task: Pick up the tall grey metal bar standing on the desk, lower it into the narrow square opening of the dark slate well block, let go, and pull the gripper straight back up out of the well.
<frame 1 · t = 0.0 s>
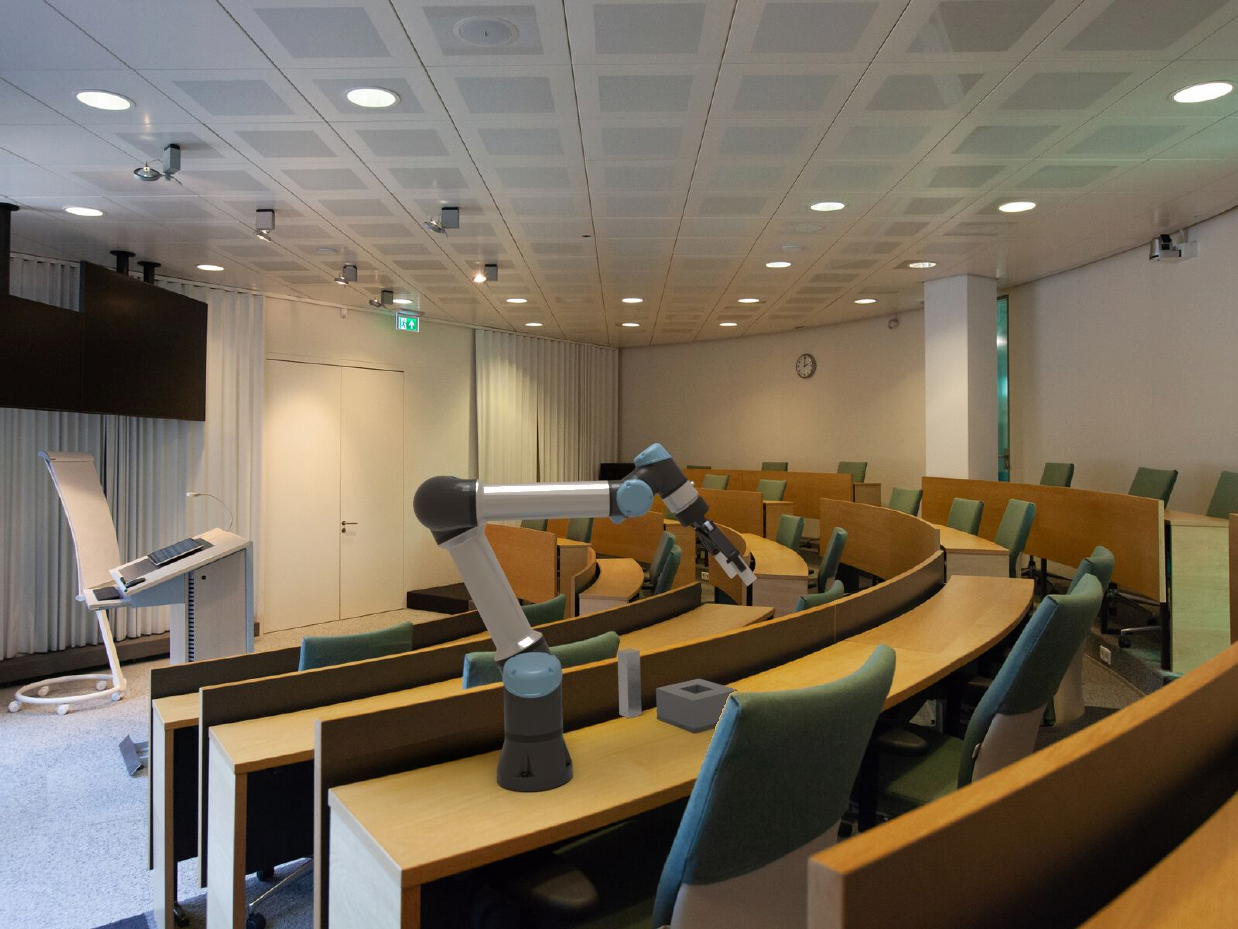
hand: (743, 578, 168), 36 cm above the table, tool tilted 35°, fingers open, 13 cm apart
slate well: (697, 720, 181), on the table
grey metal bar: (630, 715, 187), on the table
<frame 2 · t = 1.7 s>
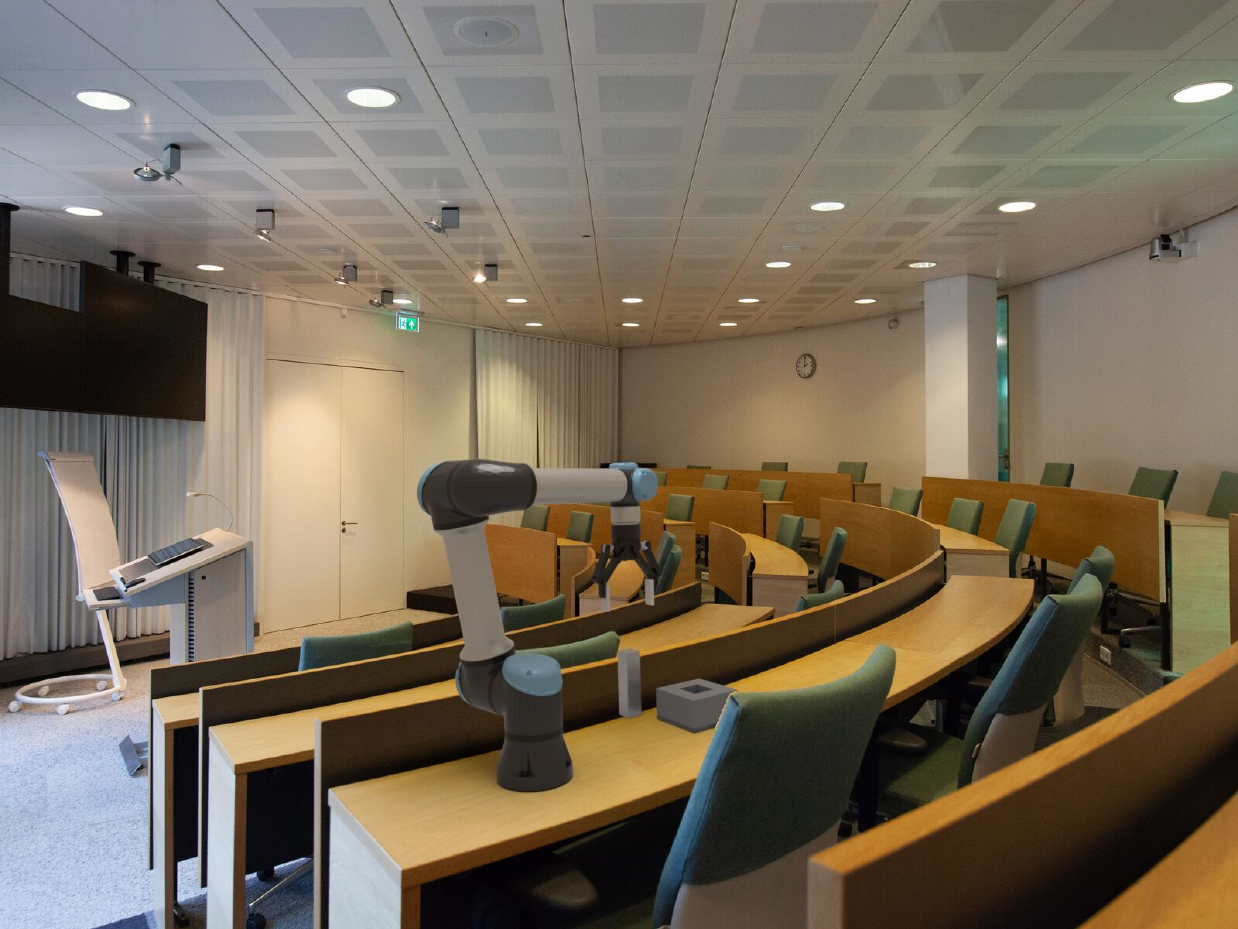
hand: (628, 608, 187), 27 cm above the table, tool pointing down, fingers open, 13 cm apart
nothing on the table moved.
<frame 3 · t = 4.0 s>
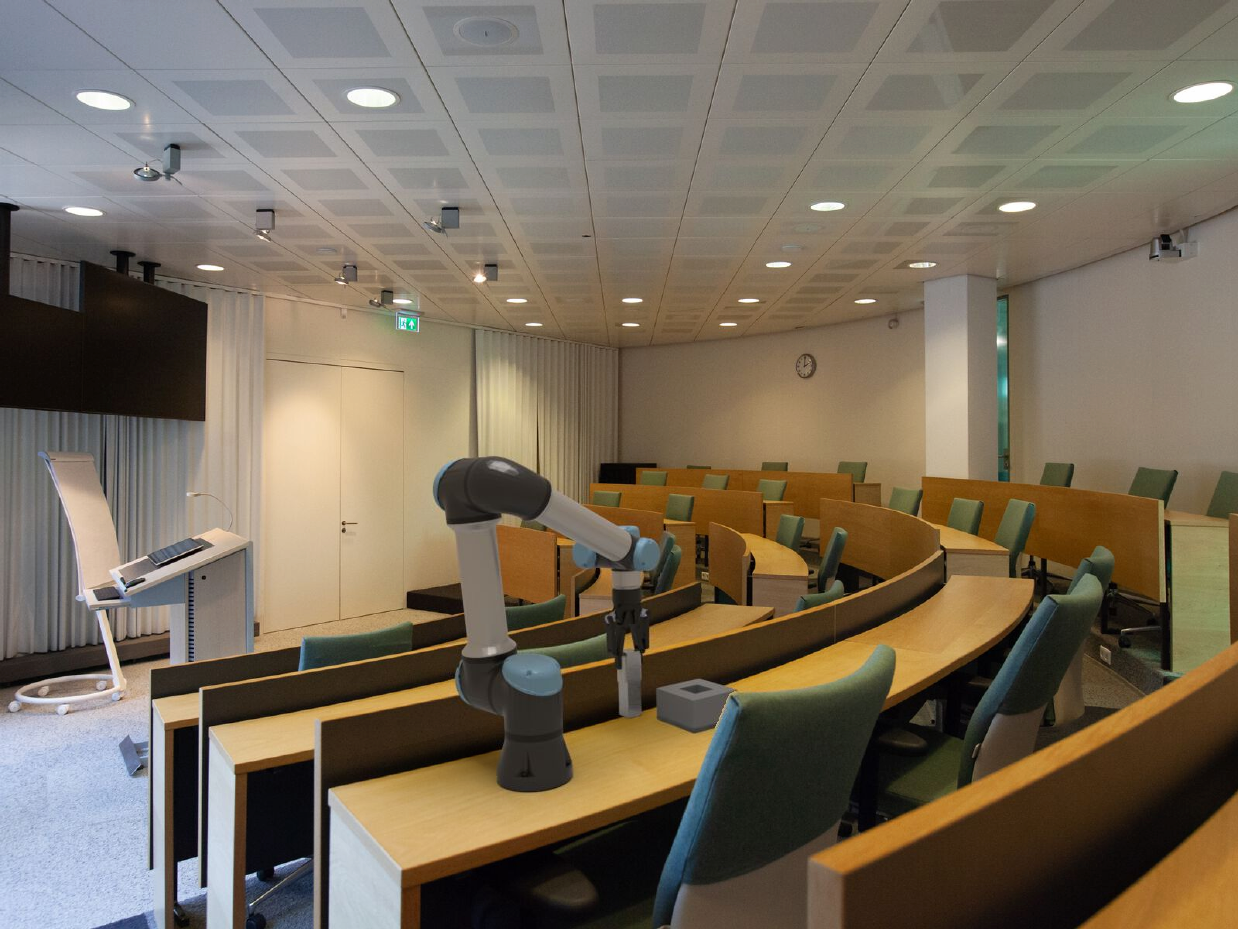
hand: (629, 680, 187), 9 cm above the table, tool pointing down, fingers closed on grey metal bar, 4 cm apart
grey metal bar: (630, 714, 187), on the table, touching gripper
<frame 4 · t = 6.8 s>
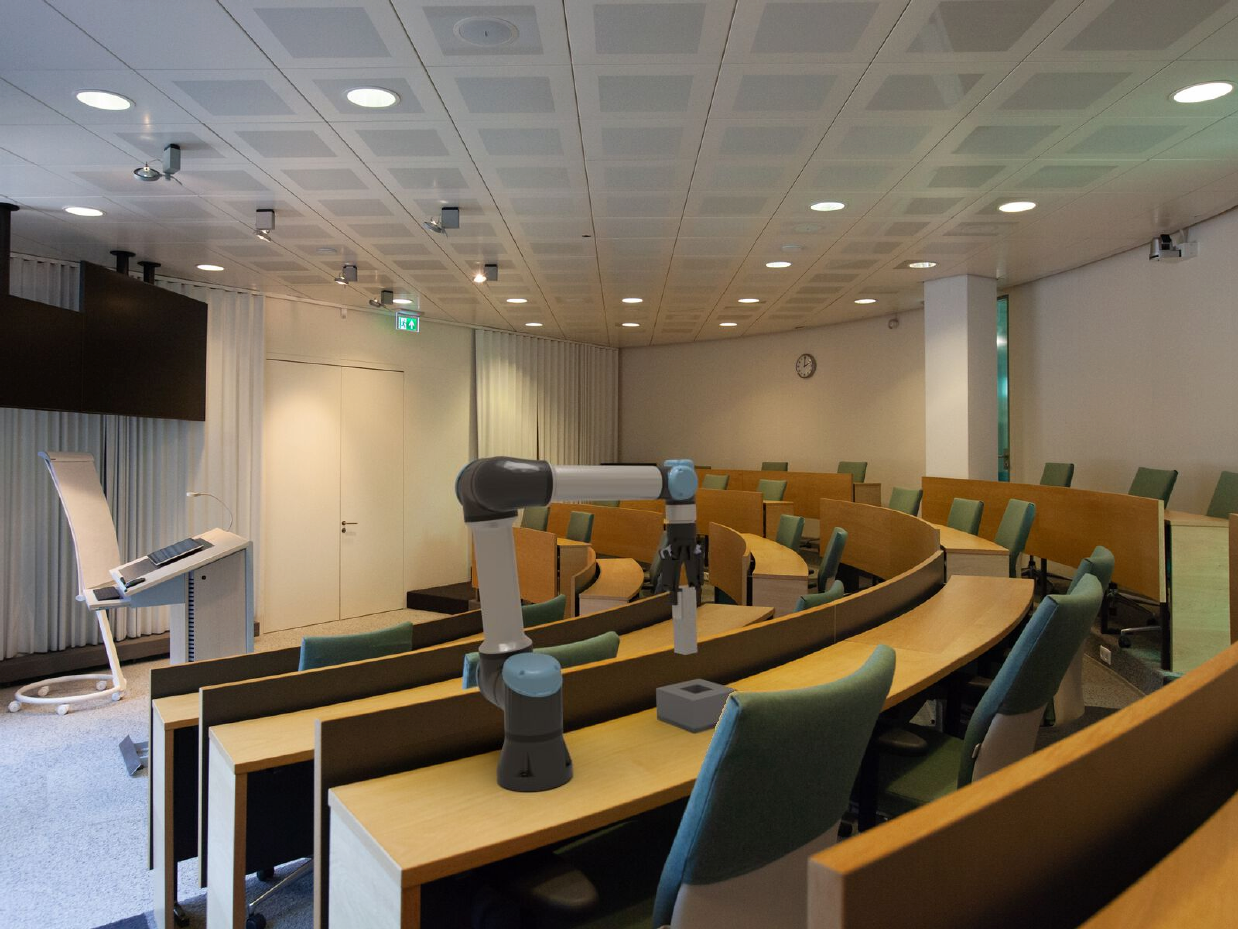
hand: (684, 617, 183), 25 cm above the table, tool pointing down, fingers closed on grey metal bar, 4 cm apart
grey metal bar: (685, 652, 183), point 16 cm above the table, touching gripper
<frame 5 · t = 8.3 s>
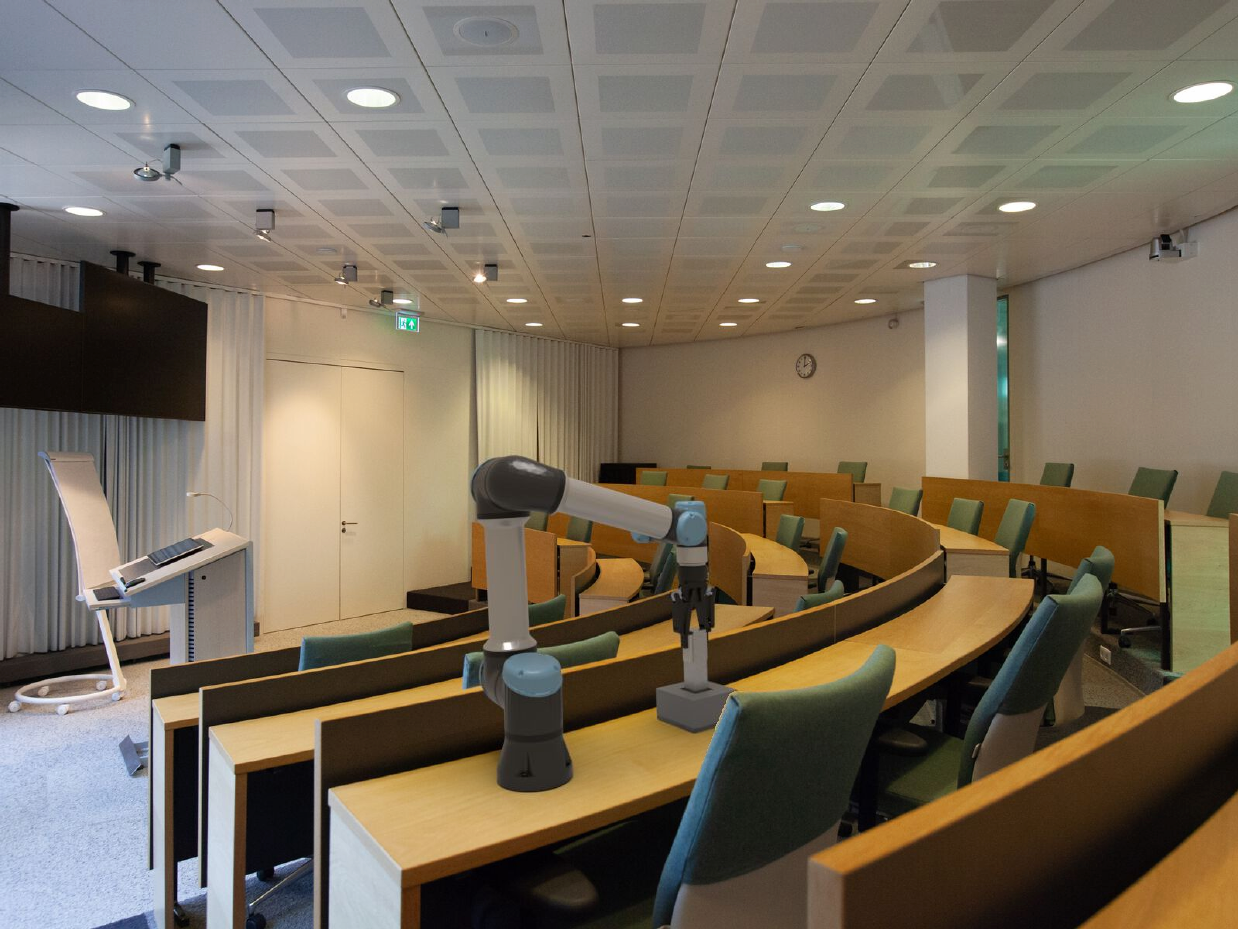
hand: (695, 659, 181), 15 cm above the table, tool pointing down, fingers closed on grey metal bar, 4 cm apart
grey metal bar: (696, 695, 181), point 6 cm above the table, touching gripper
when the fingers open (11 cm above the table, at t = 9.4 s): grey metal bar stays where it is, resting on slate well.
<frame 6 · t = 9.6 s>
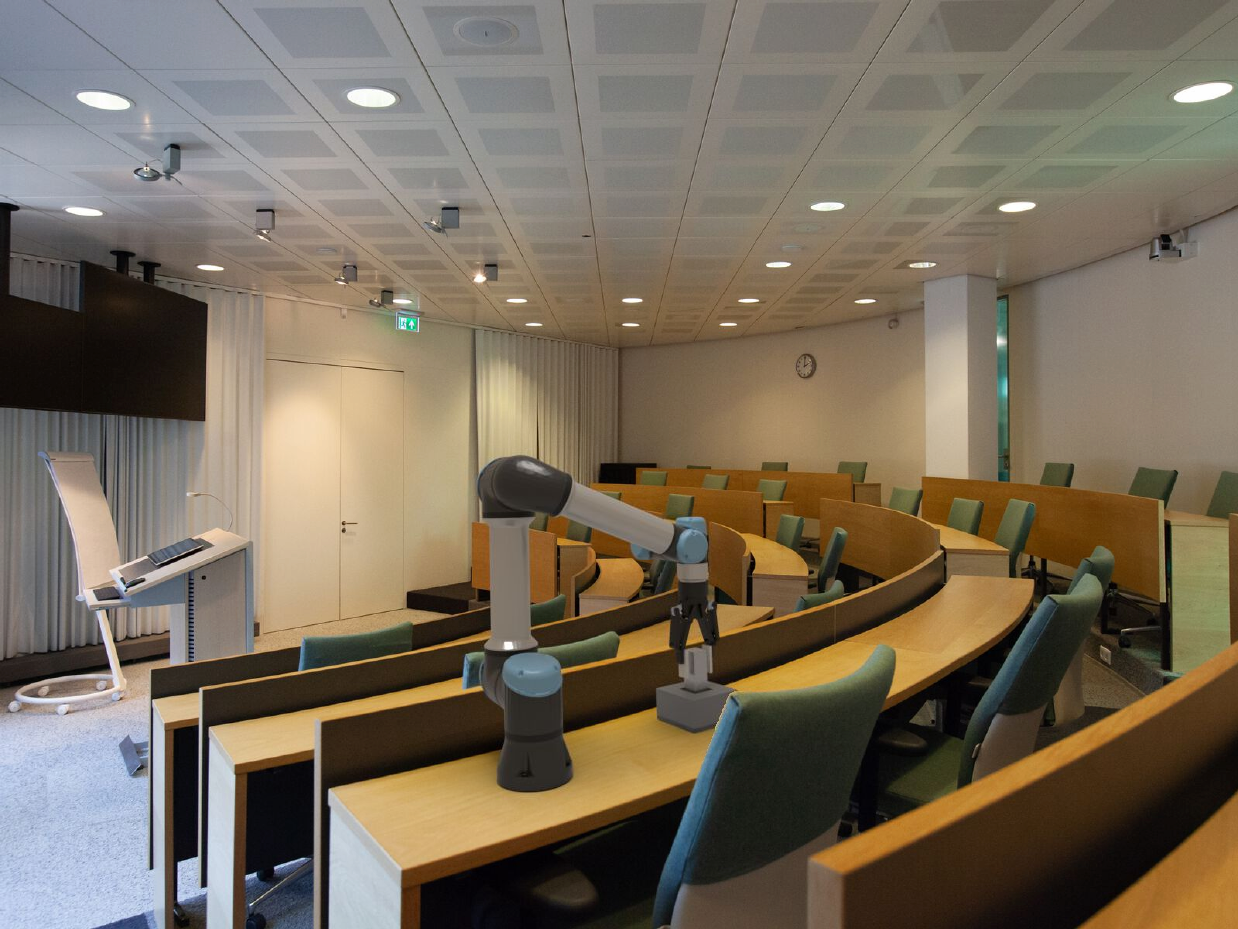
hand: (695, 674, 181), 11 cm above the table, tool pointing down, fingers open, 7 cm apart
grey metal bar: (696, 716, 181), point 1 cm above the table, touching slate well
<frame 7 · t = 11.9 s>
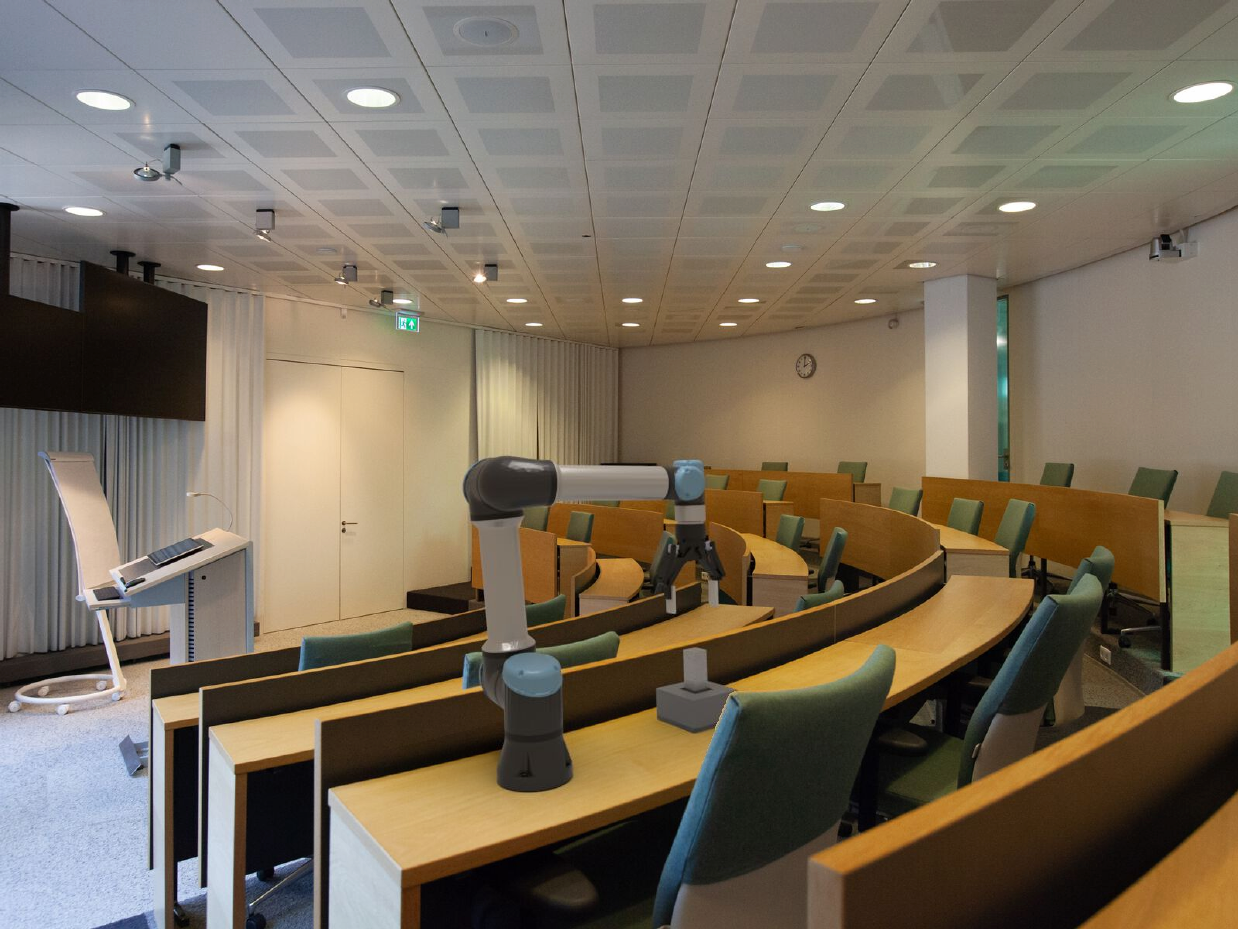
hand: (692, 609, 182), 27 cm above the table, tool pointing down, fingers open, 13 cm apart
nothing on the table moved.
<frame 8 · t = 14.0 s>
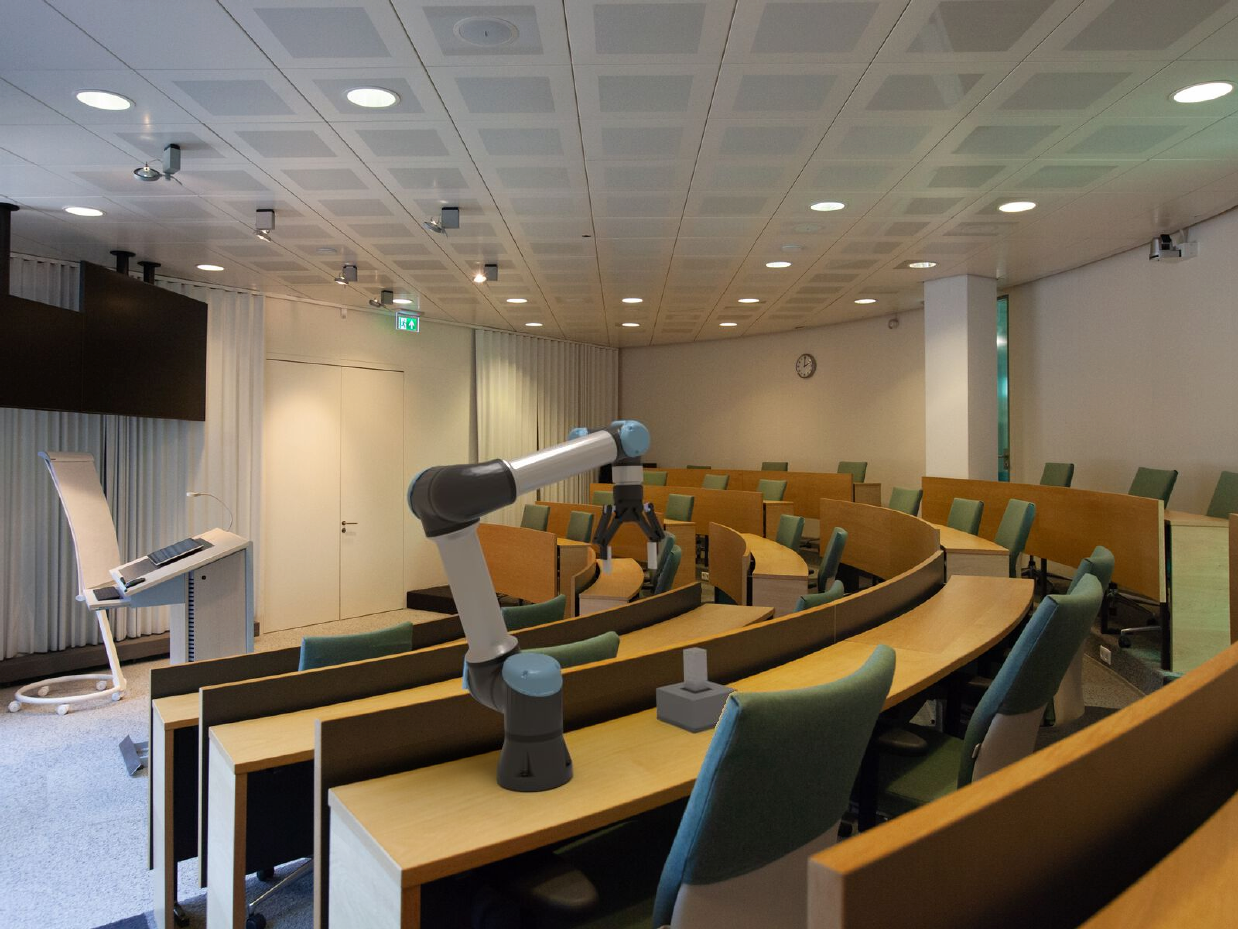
hand: (630, 571, 181), 37 cm above the table, tool pointing down, fingers open, 13 cm apart
nothing on the table moved.
at the end: grey metal bar 0.1 cm off-centre on the slate well, point 1.0 cm above the slate well's base; grey metal bar tilted 0°; the gripper is holding nothing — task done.
